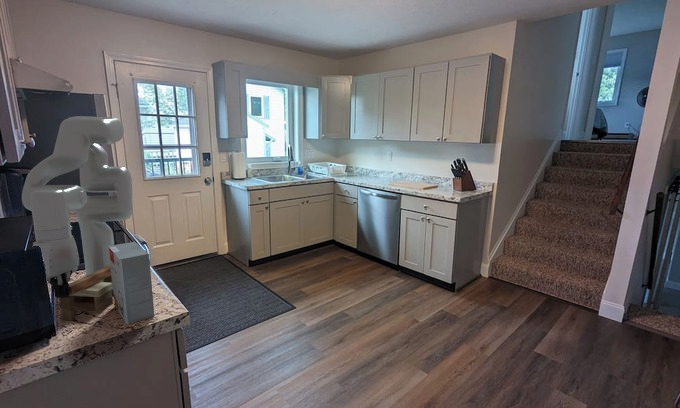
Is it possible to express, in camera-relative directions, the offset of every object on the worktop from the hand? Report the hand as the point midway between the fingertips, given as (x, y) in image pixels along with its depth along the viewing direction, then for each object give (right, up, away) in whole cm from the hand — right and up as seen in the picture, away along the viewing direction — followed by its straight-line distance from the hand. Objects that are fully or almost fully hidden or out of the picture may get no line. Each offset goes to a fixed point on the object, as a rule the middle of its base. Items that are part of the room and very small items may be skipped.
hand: (62, 296), depth 95 cm
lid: (+1, -1, +9) cm, 9 cm away
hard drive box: (+16, -7, +8) cm, 19 cm away
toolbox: (+1, -6, +10) cm, 12 cm away
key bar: (+1, +1, +11) cm, 11 cm away
